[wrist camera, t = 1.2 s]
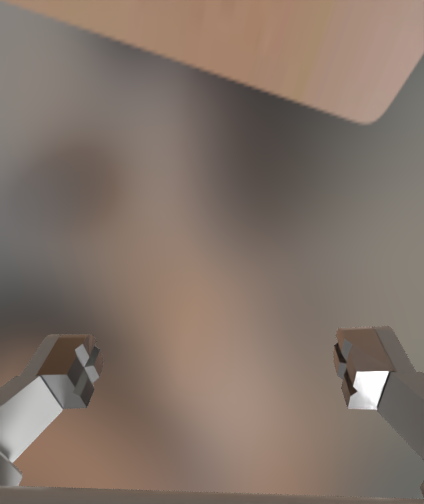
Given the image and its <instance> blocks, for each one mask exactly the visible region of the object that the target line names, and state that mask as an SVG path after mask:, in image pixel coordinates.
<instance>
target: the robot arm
mask: <svg viewBox="0 0 424 504" xmlns="http://www.w3.org/2000/svg"><path fill="white" fill-rule="evenodd" d="M336 338H337V341H338V343H337V344H335V345H334V351H333V355H334V356H333V357H334V364H335V369H336V372H337V375H338V376H339V377H340V378H341V379H343V382H342V387H341V389H342V392H343V395H344V398H345V401H346V405H347V408H348V409H378V410H377V411H378V412H379V413H380V414H381V415H382V417H384V419H385V420H386V421H387V422H388V423H389V424H390V425H391V426H392V427H393V428H394V429H395V430H396V431H397V433H398V434H399V435H400V436H401V437H402V438H403V439H404V440H405V441H406V442H407V443H408V444H409V445H410V446H411V447H412V449H413V450H414V451H415V452H416V453H417V454H418V455H419V456H420V457H421V458H422V459H423V460H424V373H422V372H416V371H415V369H414V367H413V365H412V364H411V362H410V360H409V358H408V356H407V354H406V353H405V351H404V349H403V347H402V345H401V344H400V342H399V340H398V338H397V337H396V335H395V333H394V331H393V330H392V328H391V327H389V326H382V327H347V328H338V330H337V332H336ZM95 343H96V340H95V338H94V336H93V335H89V334H88V335H87V334H86V335H82V334H71V335H70V334H68V335H66V334H64V335H48V336H47V337H45V338H44V340H43V341H42V343H41V345H40V346H39V348H38V349H37V351H36V352H35V354H34V355H33V357H32V358H31V360H30V361H29V363H28V365H27V366H26V368H25V369H24V371H23V372H22V374H21V375H20V376H16V377H14V378H13V379H11V380H10V381H8V382H7V383H6V384H5V385H3V386H2V387H0V504H424V499H406V498H375V497H344V496H343V497H342V496H310V495H282V494H280V495H279V494H251V493H250V494H249V493H218V492H188V491H187V492H186V491H157V490H156V491H155V490H154V491H153V490H125V489H93V488H61V487H29V486H18V485H19V483H20V481H21V479H22V472H21V471H20V470H19V469H18V468H17V467H16V466H15V465H14V464H13V462H14V461H15V460H16V459H17V458H18V457H19V456H20V455H21V454H22V452H23V451H24V450H25V449H26V448H27V447H28V446H29V445H30V444H31V443H32V442H33V441H34V440H35V439H36V438H37V437H38V436H39V435H40V434H41V432H42V431H43V430H44V429H45V428H46V427H47V426H48V425H49V424H50V423H51V422H52V421H53V420H54V419H55V418H56V417H57V416H58V415H59V413H61V411H62V409H68V408H70V409H71V408H87V406H88V404H89V402H90V399H91V397H92V394H93V392H94V386H93V382H95V381H96V380H97V379H98V378H99V377H100V374H101V372H102V367H103V355H102V352H101V350H100V349H98V348H97V347H95ZM420 489H421V491H422V494H423V497H424V481H423V483H422V484H421V486H420Z"/></svg>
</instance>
